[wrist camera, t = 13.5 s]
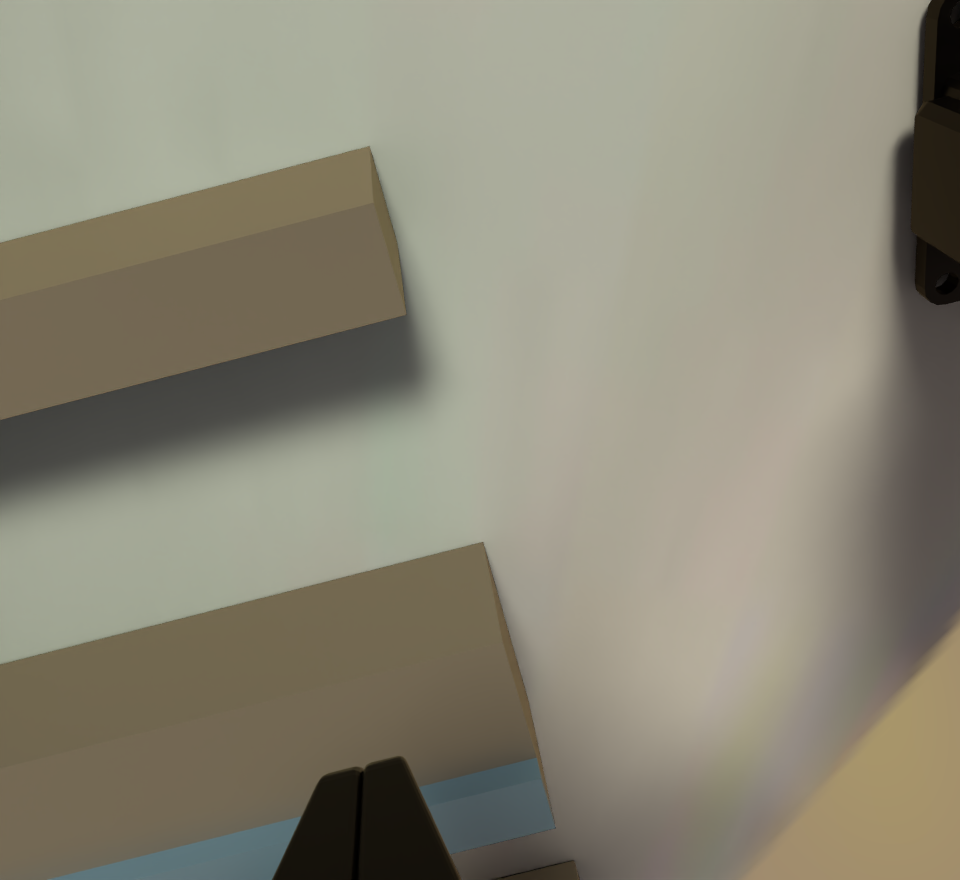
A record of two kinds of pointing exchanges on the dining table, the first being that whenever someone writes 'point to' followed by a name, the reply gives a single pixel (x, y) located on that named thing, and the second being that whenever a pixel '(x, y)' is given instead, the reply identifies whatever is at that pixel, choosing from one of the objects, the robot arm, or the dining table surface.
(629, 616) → the dining table surface
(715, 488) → the dining table surface
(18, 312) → the grey square frame
